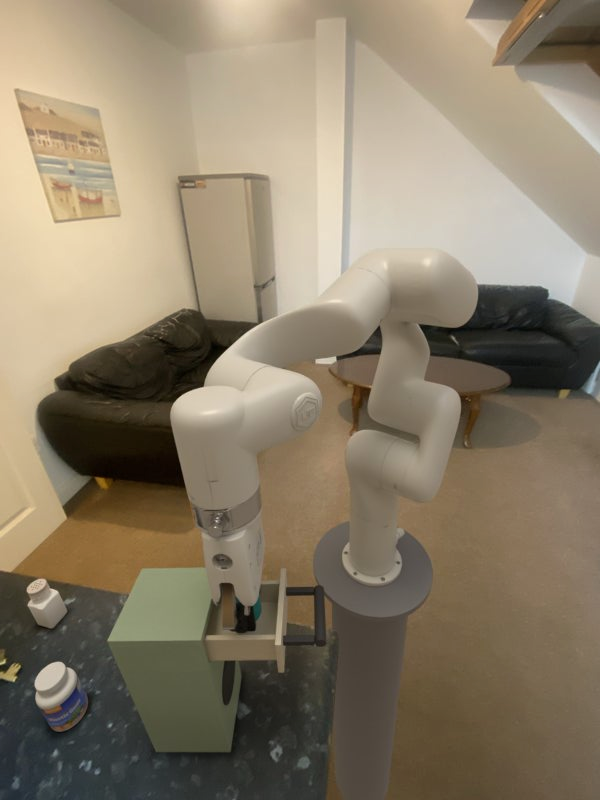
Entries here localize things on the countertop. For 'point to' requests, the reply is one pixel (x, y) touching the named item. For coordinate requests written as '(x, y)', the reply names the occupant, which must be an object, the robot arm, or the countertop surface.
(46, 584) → the salt shaker
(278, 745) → the countertop surface
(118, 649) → the green cabinet
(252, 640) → the drawer
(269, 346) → the robot arm
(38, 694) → the pill bottle
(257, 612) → the pod
